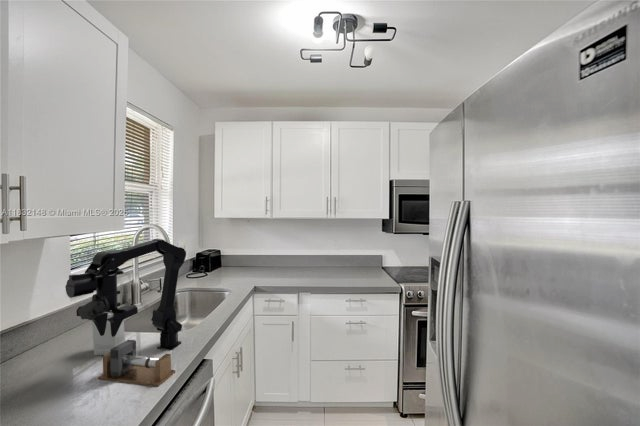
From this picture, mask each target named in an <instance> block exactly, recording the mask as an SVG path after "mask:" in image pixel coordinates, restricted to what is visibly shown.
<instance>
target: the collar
mask: <svg viewBox="0 0 640 426" xmlns="http://www.w3.org/2000/svg"><path fill="white" fill-rule="evenodd" d="M124 355H134V356H137V341H136V339H127V340H125V342H123V343H121V344H119V345H118V346H116V347H114V348H112V349H110V361H111V375H112V376H120V375H122V374H123V373H125V372H126V371H128V370H129V369H131V368H132V367H134V366H130V365H122V357H123V356H124Z"/></svg>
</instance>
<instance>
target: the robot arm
mask: <svg viewBox="0 0 640 426" xmlns="http://www.w3.org/2000/svg"><path fill="white" fill-rule="evenodd" d="M153 252H157V253H158V254H160V255H162V256H163V257H162V258H163V260H162V261H163V265H164V267H165V271H164V277H163V283H162V290H161V297H160V302H159V306H158V308H157V309H153V310H152V318H151V319H150V321H151V322H152V326H153V327H154V328H156V331H158V332H159V331H160V334H159V335H160V337H159V343H160V344H159V345H158V346H157V347H156V348H157V350H169V351H171V350H173V349H175V348H176V347H177V346H179V345H180V344H182V341H181V340H179V338H178V337H179V332H181V331H182V328H183V324H182V323H181V322H178V321H177V312H176V308H175V307H174V306H175V300H176V299H175V298H176V294H177V293H176V292H177V285H178V279H179V272H180V269H181V267H182V266H183V265H184V263H185V260H186V256H187V251H186V250H185V249H184V248H183V247H180V246H179V247H178V246H176V245H174V244H172V243H170V242H167V241H166V240H164V239H162V238H154V239H152V240H148V241H146V242H142V243H139V244H135V245H133V246H129V247H125V248H122V249H114V250H113V249H112V250H105V251H99V252H96V253H95V254H94V256H93V257H92V261H91V263H90V264H89V266H88V267H87V269H86V270H84V272H83V273H79V274H78V273H77V274H74V273H73V274H70V275H68V280H66V284H65V292H66V293H65V294H66V295H67V296H68V297H69V298H71V299H72V298H76V297H77V298H78V297H80V296H85V295H89V294H93V293H94V292H95V293H94V294H93V295H92V296H91V298H92V299H91V301H89V302H87V303H86V304H83V305H80V306H78V308H77V309H76V313H75V314H76V317H80V319H81V320H89V321H91V322H92V321H93V322H94V324H95V325H96V327H97V329H98V332H99V334H100V336H103V335H104V334H105V330H106V323H107V320H108V321H109V322H110V325H111V335H112V337H114V336H115V335H116V333H117V331H118V329H119V327H120V325H121V323H122V321H123V320H124V321H125V320H126V319H129V318H130V317H132V316H134V315H137V314H139V313H138V312H139V311H138V309H139V308H138V306H137V305H134V304H132V305H131V304H126V305H123V306H121V302H118V295H121V290H118V275H123V274H124V273H125V272H124V271H123V270H121V269H120V266H123V265H124V264H125V263H127V262H128V261H130V260H133V259H136V258H139V257H142V256H145V255H147V254H151V253H153ZM110 310H111V311H110ZM108 314H112V317H111V318H108V319H107V317H108Z"/></svg>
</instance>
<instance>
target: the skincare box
mask: <svg viewBox="0 0 640 426" xmlns="http://www.w3.org/2000/svg"><path fill="white" fill-rule="evenodd" d="M110 311H111V310H110ZM111 317H112V314H108V317H107V319H108V318H111ZM91 324H92V328H91V329H92V339H93V340H92V341H93V353H94V354H93V355H94V356H103V355H105V354H107V353H109V352H110V349H112V348H114V347H116V346H118V345H119V344H121V343H123V342H125V341H126V338H125V337H126V336H125V319H124V320H123V321H122V323H121V325H120V327H119V329H118V331H117V333H116V335H115V336H114V337H112V335H111V325H110V322H109V321H108V320H107V323H106V330H105V334H104V335H103V336H100V334H99V332H98V329H97V327H96V325H95V324H94V322H93V321H92V320H91Z"/></svg>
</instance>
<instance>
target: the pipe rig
mask: <svg viewBox="0 0 640 426" xmlns="http://www.w3.org/2000/svg"><path fill="white" fill-rule="evenodd" d="M171 354H172V353H165V354H164V355H162V356H161V357H155V356H152V355H151V356H142V355H136V356H134V355H124V356H123V357H122V365H130V366H134V367H132V368H131V369H129V370H128V371H126V372H125V373H123V374H122V375H120V376H112V375H111V361H110V352H109V353H107V354H105V355H102V374H100V375H99V376H97V380H98V379H99V381H106V380H107V381H108V382H114V381H119V382H118V383H123V382H126V383H125V384H131V383H133V384H134V385H142V386H149V387H157V388H158V387H160V386H161V385H162V384H163V383H165V381H167V380H168V379H169V378H170V377H172V376H173V375H174V374H176V370H174V369H172V355H171ZM107 381H106V382H107ZM133 384H132V385H133Z"/></svg>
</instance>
